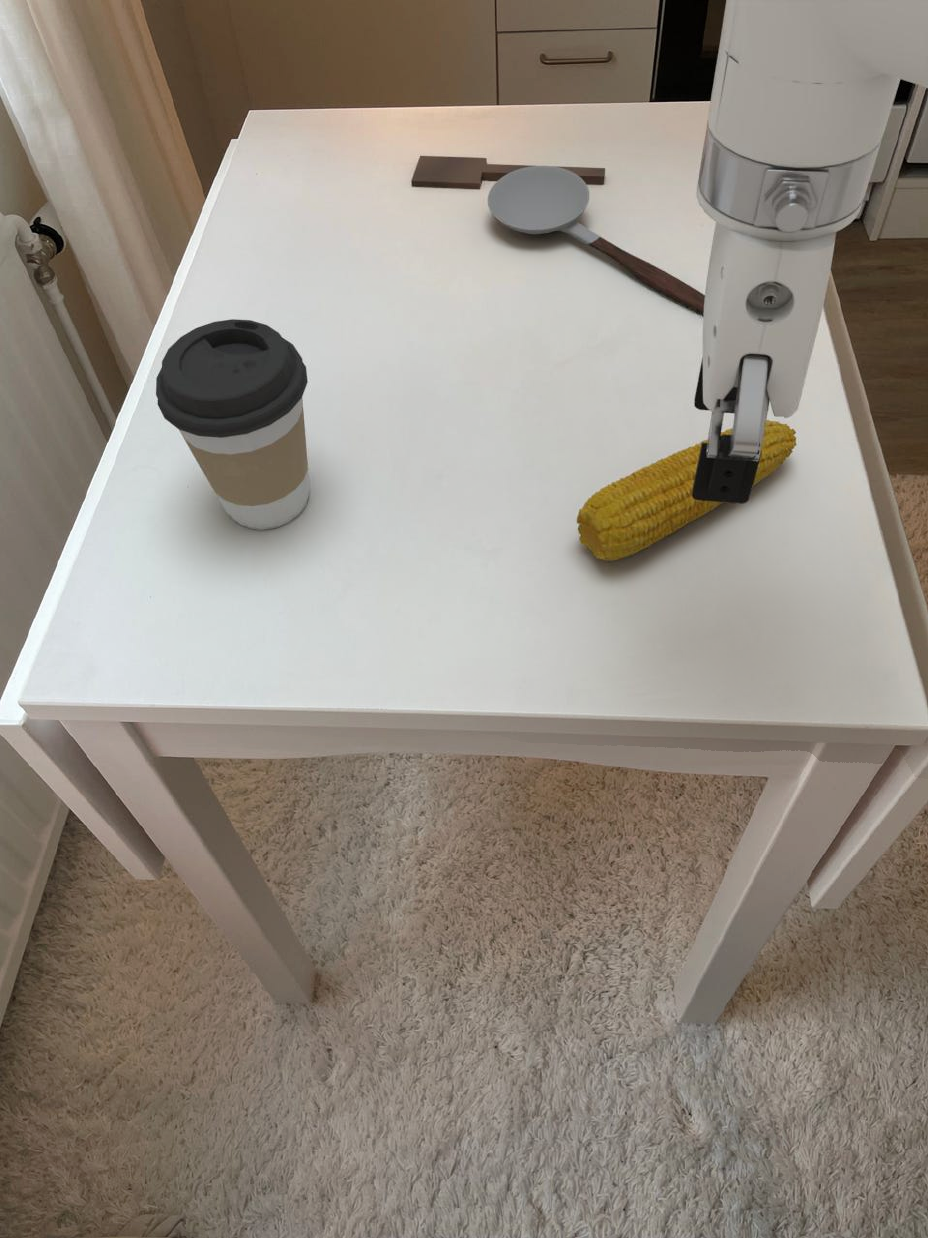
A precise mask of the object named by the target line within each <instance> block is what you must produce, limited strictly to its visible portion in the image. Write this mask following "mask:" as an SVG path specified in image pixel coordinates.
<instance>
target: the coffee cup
mask: <svg viewBox="0 0 928 1238" xmlns="http://www.w3.org/2000/svg"><path fill="white" fill-rule="evenodd" d="M307 371H308V370H307V366H306V364H305V363H304V361H303V357H302V355H301V354H300V353H299V352H298V350H297V348H296V347H295V345H294V344H293V343H292V342H290V341H288V340H287V339H285V337H283V336H282V335H281V333H280V332H278V331H277V330H275V329H274V328H272V327H271V326H269V325H268V324H264V323H262V322H259V321H254V320H250V319H249V320H248V319H235V318H234V319H233V318H231V319H225V320H217V321H212V322H209V323H207V324H203V325H201V326H197V327H196V328H193V329H192V330H190V331H188V332H187V333H185V334H183V335H181V336H179V338H178V339H177V340H175V342H174V343H173V344H172V345H171V346H170V347H169V348H167V351H166V352H165V355H164V357H163V359H162V361H161V368H160V370H159V372H158V374H157V376H156V377H155V378H156V381H155V384H156V385H155V396H156V398H157V406H158V408H159V410H160V412H161V414H162V416H163V418H164V419H165V420H166V421H167V422H169V424H171V425H172V426H174V427H175V428H176V429H177V430H178V431H179V433H180V435H181V437H182V438H183V439H184V442H185V444H186V445H187V447H188V448H189V450H190V453H192V456H193V457H194V460H195V461H196V462H197V464H198V466H199V468H200V470H201V471H202V473H203V474H204V475H203V476H205V478H206V480H207V482H208V483H209V485H210V487H211V488H212V490H213V492H214V493H215V495H216V497H217V499H218V500H219V502H220V504H221V506H222V508H223V509H224V511H225V513H226V514H227V515H229V516H230V517H231V519H232V520H233V521H235V523H237V524H238V525H239V526H242V527H244V528H247V529H249V530H258V531H265V530H270V529H271V530H272V529H277V528H280V527H282V526H285V525H287V524H289V523H291V522H292V521H294V520H295V519H296V518H297V517H299V516H300V515H301V513H303V511H304V509H305V508H306V507H307V504H308V501H309V493H310V490H311V487H310V475H309V462H308V450H307V449H308V448H307V439H306V427H305V426H306V425H305V413H304V412H305V411H304V399H303V396H304V394H305V391H306V387H307V385H308V383H309V382H308V372H307Z"/></svg>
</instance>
